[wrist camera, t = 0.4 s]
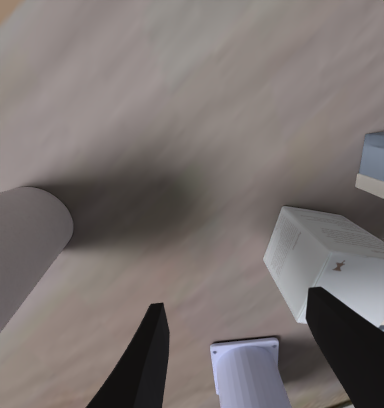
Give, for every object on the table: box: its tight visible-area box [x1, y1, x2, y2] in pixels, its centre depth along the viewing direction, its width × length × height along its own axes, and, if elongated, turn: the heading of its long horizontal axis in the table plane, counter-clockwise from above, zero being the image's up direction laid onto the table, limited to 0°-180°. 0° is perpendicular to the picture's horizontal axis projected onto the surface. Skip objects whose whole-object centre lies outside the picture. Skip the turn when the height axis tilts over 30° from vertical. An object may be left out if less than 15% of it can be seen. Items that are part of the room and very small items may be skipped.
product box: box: [263, 206, 384, 327], centre depth 17 cm, size 6×6×7 cm
